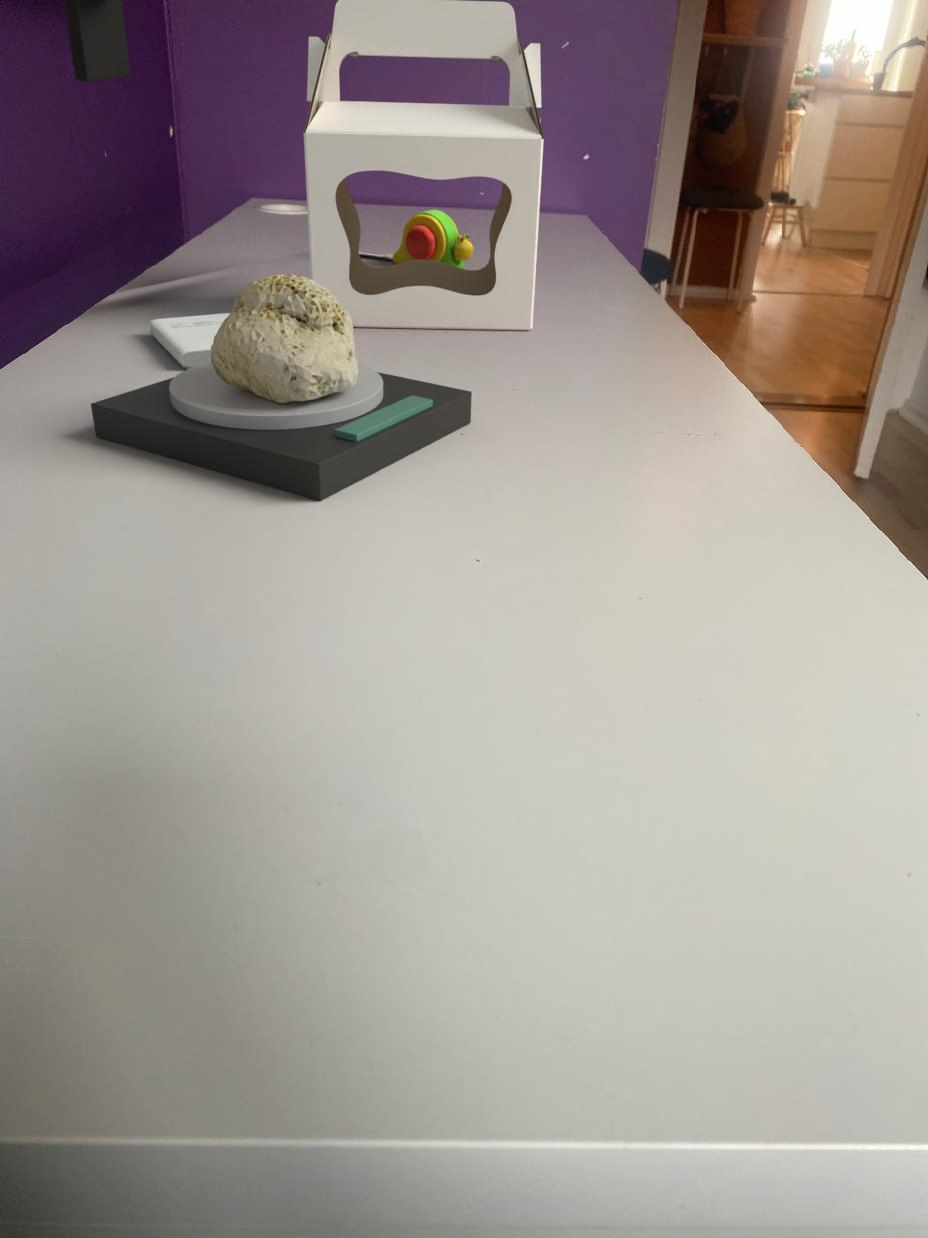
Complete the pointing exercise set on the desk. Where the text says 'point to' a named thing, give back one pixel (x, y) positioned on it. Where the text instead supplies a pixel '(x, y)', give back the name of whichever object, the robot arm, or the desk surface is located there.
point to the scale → (284, 427)
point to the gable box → (425, 164)
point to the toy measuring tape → (431, 241)
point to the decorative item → (286, 341)
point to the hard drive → (188, 337)
